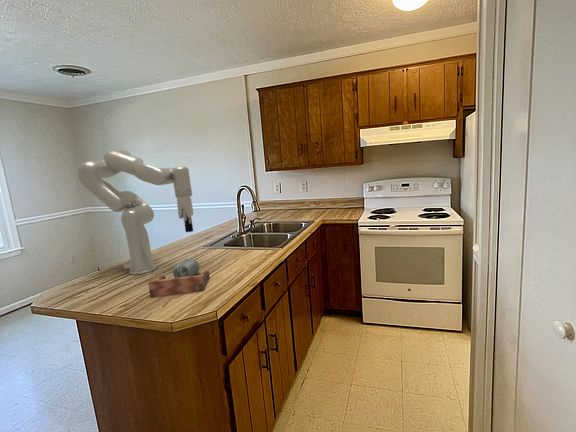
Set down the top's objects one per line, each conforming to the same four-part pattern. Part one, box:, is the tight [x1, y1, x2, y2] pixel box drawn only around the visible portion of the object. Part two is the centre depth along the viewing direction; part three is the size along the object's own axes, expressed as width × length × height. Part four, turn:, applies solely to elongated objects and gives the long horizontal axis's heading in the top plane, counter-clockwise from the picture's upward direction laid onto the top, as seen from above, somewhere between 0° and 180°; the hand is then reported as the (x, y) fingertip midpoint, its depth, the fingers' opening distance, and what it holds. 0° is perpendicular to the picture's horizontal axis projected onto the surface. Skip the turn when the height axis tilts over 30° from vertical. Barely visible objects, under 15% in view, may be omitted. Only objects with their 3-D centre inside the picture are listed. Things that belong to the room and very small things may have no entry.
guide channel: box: [147, 270, 211, 298], centre depth 129 cm, size 20×15×6 cm
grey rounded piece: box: [172, 257, 200, 278], centre depth 139 cm, size 14×10×10 cm
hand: (189, 231), depth 150 cm, fingers closed
